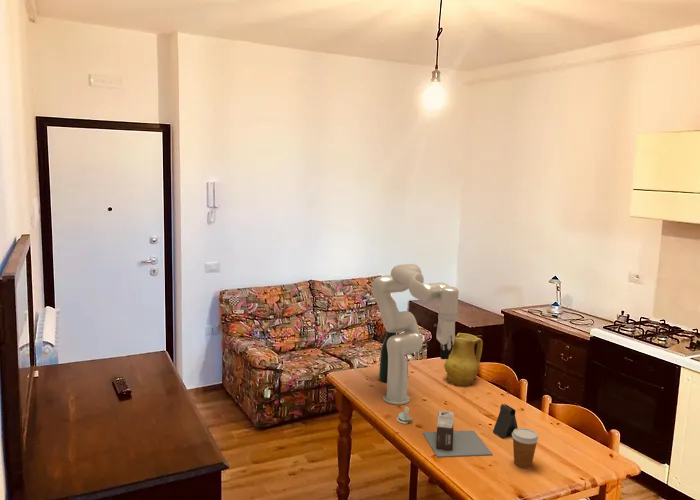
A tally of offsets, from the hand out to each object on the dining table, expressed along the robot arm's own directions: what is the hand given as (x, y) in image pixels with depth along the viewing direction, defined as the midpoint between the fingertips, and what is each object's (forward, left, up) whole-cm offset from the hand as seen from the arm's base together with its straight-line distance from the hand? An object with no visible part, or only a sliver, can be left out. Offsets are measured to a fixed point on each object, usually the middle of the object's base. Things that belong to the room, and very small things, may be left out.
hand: (444, 358), depth 233 cm
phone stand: (+10, +25, -30) cm, 40 cm away
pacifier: (-6, -15, -30) cm, 34 cm away
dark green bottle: (-54, -11, -30) cm, 63 cm away
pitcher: (-49, +27, -30) cm, 64 cm away
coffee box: (+7, 0, -25) cm, 25 cm away
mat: (+17, +1, -30) cm, 34 cm away
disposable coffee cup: (+34, +21, -30) cm, 50 cm away
